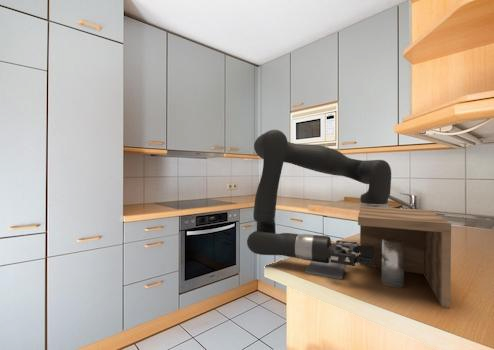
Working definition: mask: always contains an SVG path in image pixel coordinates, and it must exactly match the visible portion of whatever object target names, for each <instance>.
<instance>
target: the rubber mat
mask: <svg viewBox="0 0 494 350" xmlns="http://www.w3.org/2000/svg"><path fill="white" fill-rule="evenodd" d="M346 266H347V265H344V264H338V263H332V262H331V261H330V262H329V263H322V262H315V261H310V262H309V264H308V266H307V267H306V268H305V270H304V274H308V275H312V276H320V277H325V278H332V279H338V280H343V277H344V273H345V270H346Z"/></svg>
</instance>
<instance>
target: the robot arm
mask: <svg viewBox="0 0 494 350" xmlns="http://www.w3.org/2000/svg"><path fill="white" fill-rule="evenodd" d="M253 149H254V153H255V154H256V155H257V156H258V157H259V158H261V159H263V160H262V161H263V163H262V170H261V177H260V180H259V183H258V186H257V189H256V192H255V193H256V194H255V198H254V204H253V205H254V206H253V220H254V221H255V223H256V230H255V231H252V232H251V233H250V234H249V235H248V237H247V239H246V244H247V248H248V249H249V250H250V251H251V252H252V253H254V254H257V255H260V256H261V255H263V256H284V257H288V258H295V259H299V260H300V259H301V260H304V261H308V262H309V261H310V262H311V261H315V262H322V263H329V262H332V263H338V264H344V265H346V266H351V267H355V266H356V265H358V264H360V263H361V264H369V265H374V264H375V257H374V256H372V255H374V247H371V246H362V245H360V243H358V242H357V241H347V240H336V241H335V243H332V239H331V237H330V236H328V235H319V234H309V233H292V232H291V233H290V232H282V233H277V232H276V222H275V218H276V210H277V209H276V208H277V201H278V200H277V198H278V191H279V184H280V181H281V179H280V178H281V176H282V175H281V174H282V170H283V167H284V163H286V164H291V165H294V166H298V167H301V168H304V169H306V170H310V171H313V172H316V173H317V172H318V173H320V174H321V173H322V174H326V175H331V176H339V177H340V176H341V177H345V178H349V179H350V180H353V181H356V182H359V183H361V184H364V185H368V189H367V191H366V192H364V193H362V194H360V199H359V200H360V202H359V203H360V207H361V206H364V207H382V208H389V205H388V204H389V203H388V202H389V199H390V196H391V188H392V187H391V186H392V169H391V166H390V164H389V162H387V161H386V160H384V159H370V160H364V159H362V160H361V159H356V158H355V159H354V158H351V157H348V156H346V155H345V154H343V153H342V152H340V151H339V150H337V149H334V148H331V147H328V146H325V145H319V144H318V145H317V144H309V143H307V144H305V143H293V142H290V141H288V138H287V136H286V134H285V133H284V132H282V131H281V130H279V129H271V130H268V131H265V132H264V133H262V134H261V135H259V136H258V137H257V138H256V139H255V141H254V144H253ZM360 207H359V208H360ZM364 254H367V255H364Z"/></svg>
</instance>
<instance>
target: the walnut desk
mask: <svg viewBox="0 0 494 350" xmlns="http://www.w3.org/2000/svg"><path fill="white" fill-rule="evenodd" d="M359 208H360V209H359V211H358V215H357V225H358V226H359V228H360V230H359V234H360V235H359V236H360V237H359V238H360V239H359V245H362V246H371V247H374V255H372V256H374V257H375V264H374V265H369V264H361V263H359V265H361V266H365V267H372V268H379V269H380V268H381V269H382V239H384V238H392V239H398V240H402V241H404V272H408V273H415V274H421V275H422V274H423V275H424V277H425V279H426V280H427V283H428V284H429V286H430V288H431V290H432V291H433V294H434V295H435V297H436V300H437V301H438V303H439V305H440V307H442V308H447V309H451V285H452V284H451V283H452V281H451V277H452V275H451V273H452V272H451V269H452V267H451V265H452V222H450V221H448V220H446V219H445V218H443V217H441V216H440V215H438V214H437V213H435V212H434V211H432V210H431V209H418V208H417V209H415V208H396V207H388V208H382V207H364V206H361V207H359ZM364 255H367V254H364Z"/></svg>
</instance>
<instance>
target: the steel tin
mask: <svg viewBox="0 0 494 350" xmlns="http://www.w3.org/2000/svg"><path fill="white" fill-rule="evenodd" d="M404 276H405V271H404V241H402V240H398V239H392V238H384V239H382V268H381V283H382V284H384V285H385V286H389V287H392V288H403V287H404V286H405V280H404V279H405V277H404Z"/></svg>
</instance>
